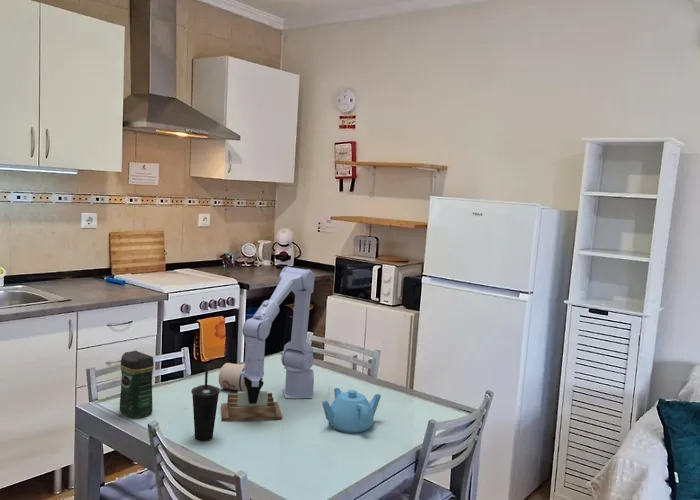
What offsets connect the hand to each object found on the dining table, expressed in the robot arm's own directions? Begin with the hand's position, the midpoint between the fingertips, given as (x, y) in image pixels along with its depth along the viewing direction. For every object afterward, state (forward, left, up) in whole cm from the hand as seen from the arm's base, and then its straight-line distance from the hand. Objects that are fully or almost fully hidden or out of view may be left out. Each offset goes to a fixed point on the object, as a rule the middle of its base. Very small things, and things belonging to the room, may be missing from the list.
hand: (252, 402), depth 181 cm
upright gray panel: (0, 0, -4) cm, 4 cm away
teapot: (-29, +7, -5) cm, 30 cm away
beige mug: (+7, -28, -1) cm, 29 cm away
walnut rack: (0, -4, -5) cm, 6 cm away
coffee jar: (+34, -6, -5) cm, 35 cm away
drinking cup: (+14, +13, -5) cm, 20 cm away
